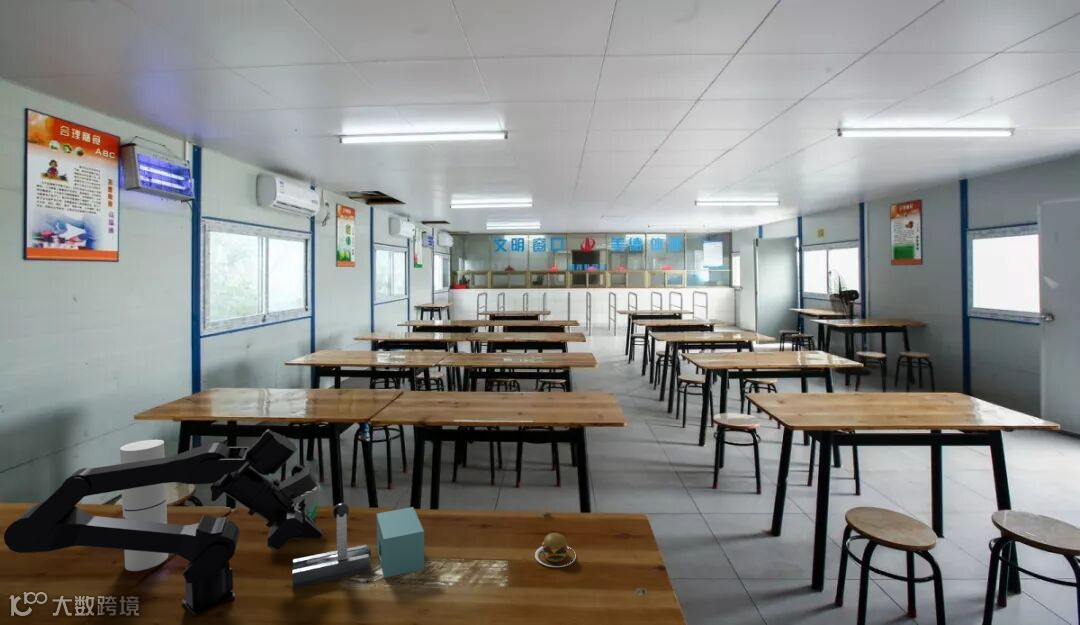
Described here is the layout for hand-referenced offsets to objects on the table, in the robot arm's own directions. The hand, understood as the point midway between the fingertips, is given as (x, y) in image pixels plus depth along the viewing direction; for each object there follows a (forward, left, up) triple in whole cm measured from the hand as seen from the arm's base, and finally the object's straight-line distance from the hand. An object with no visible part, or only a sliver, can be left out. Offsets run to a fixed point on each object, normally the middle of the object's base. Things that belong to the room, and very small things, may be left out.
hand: (321, 536), depth 99 cm
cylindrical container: (-19, +35, -8) cm, 40 cm away
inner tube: (+3, -2, -7) cm, 8 cm away
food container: (+6, +20, -8) cm, 22 cm away
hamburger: (+33, -34, -9) cm, 49 cm away
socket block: (+13, -8, -8) cm, 17 cm away
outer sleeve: (+2, -1, -8) cm, 9 cm away
